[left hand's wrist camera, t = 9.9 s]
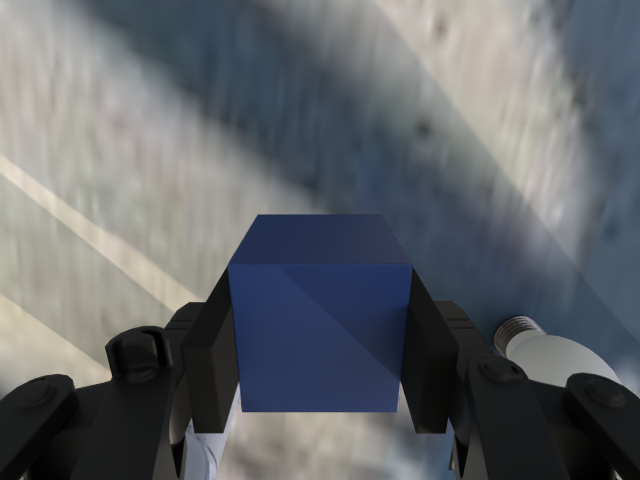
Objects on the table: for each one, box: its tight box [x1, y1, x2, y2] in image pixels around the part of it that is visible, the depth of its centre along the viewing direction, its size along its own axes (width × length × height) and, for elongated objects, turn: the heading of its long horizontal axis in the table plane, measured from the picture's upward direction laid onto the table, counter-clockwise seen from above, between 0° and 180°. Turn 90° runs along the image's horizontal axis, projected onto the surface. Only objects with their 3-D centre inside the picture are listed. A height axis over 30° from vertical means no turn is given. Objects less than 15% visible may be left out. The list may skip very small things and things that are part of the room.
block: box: [228, 215, 413, 412], centre depth 13 cm, size 5×5×5 cm
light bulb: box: [494, 316, 622, 387], centre depth 27 cm, size 7×7×11 cm
